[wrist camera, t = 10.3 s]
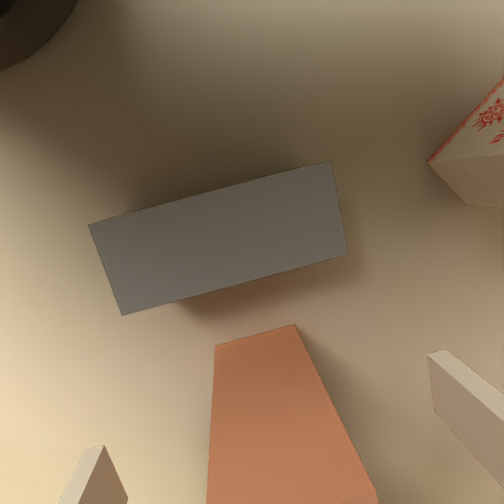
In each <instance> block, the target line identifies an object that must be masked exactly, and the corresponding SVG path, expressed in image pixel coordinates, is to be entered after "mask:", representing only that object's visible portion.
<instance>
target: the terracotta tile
mask: <svg viewBox="0 0 504 504" xmlns="http://www.w3.org/2000/svg"><path fill="white" fill-rule="evenodd" d="M206 504H379V503H378V498H377V493H376V490H375V488H374V486H373V484H372V482H371V480H370V478H369V476H368V474H367V472H366V470H365V468H364V466H363V464H362V462H361V460H360V458H359V455H358V453H357V451H356V449H355V447H354V445H353V443H352V441H351V439H350V437H349V435H348V433H347V431H346V429H345V427H344V425H343V423H342V421H341V419H340V417H339V415H338V413H337V411H336V409H335V407H334V405H333V403H332V401H331V399H330V397H329V395H328V393H327V391H326V388H325V386H324V384H323V382H322V380H321V378H320V376H319V374H318V372H317V370H316V368H315V366H314V364H313V362H312V360H311V358H310V356H309V354H308V352H307V350H306V348H305V346H304V344H303V342H302V340H301V338H300V336H299V334H298V332H297V330H296V328H295V326H294V324H293V325H290V326H286V327H282V328H279V329H275V330H272V331H268V332H264V333H261V334H257V335H253V336H250V337H246V338H243V339H239V340H235V341H232V342H228V343H225V344H221V345H217V346H215V361H214V379H213V396H212V414H211V431H210V448H209V466H208V483H207V501H206Z"/></svg>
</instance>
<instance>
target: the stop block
mask: <svg viewBox="0 0 504 504" xmlns="http://www.w3.org/2000/svg"><path fill="white" fill-rule="evenodd" d="M88 227H89V229H90V232H91V235H92V237H93V240H94V243H95V245H96V248H97V251H98V253H99V256H100V259H101V261H102V264H103V267H104V269H105V272H106V274H107V277H108V280H109V282H110V285H111V288H112V290H113V293H114V296H115V298H116V301H117V304H118V306H119V309H120V312H121V314H122V316H123V315H127V314H131V313H134V312H138V311H142V310H145V309H149V308H153V307H156V306H160V305H164V304H167V303H171V302H175V301H178V300H182V299H186V298H189V297H193V296H197V295H200V294H204V293H208V292H211V291H215V290H219V289H222V288H226V287H230V286H233V285H237V284H241V283H245V282H248V281H252V280H256V279H259V278H263V277H267V276H270V275H274V274H278V273H281V272H285V271H289V270H292V269H296V268H300V267H303V266H307V265H311V264H314V263H318V262H322V261H325V260H329V259H333V258H336V257H340V256H344V255H347V254H348V248H347V243H346V238H345V233H344V228H343V223H342V217H341V212H340V207H339V202H338V197H337V191H336V186H335V181H334V176H333V171H332V165H331V161H327V162H323V163H318V164H313V165H309V166H304V167H300V168H296V169H292V170H289V171H285V172H281V173H277V174H273V175H270V176H266V177H262V178H258V179H254V180H251V181H247V182H243V183H239V184H235V185H232V186H228V187H224V188H220V189H216V190H213V191H209V192H205V193H201V194H197V195H194V196H190V197H186V198H182V199H178V200H175V201H171V202H167V203H163V204H159V205H156V206H152V207H148V208H144V209H140V210H137V211H133V212H129V213H125V214H122V215H119V216H115V217H112V218H109V219H105V220H102V221H99V222H95V223H92V224H89V225H88Z"/></svg>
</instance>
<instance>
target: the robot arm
mask: <svg viewBox="0 0 504 504" xmlns="http://www.w3.org/2000/svg"><path fill="white" fill-rule="evenodd" d="M76 1H77V0H0V69H3V68H5V67H8V66H10V65H12V64H14V63H16V62H18V61H20V60H22V59H24V58H25V57H27V56H29V55H30V54H32V53H33V52H34V51H36V50H37V49H38V48H40V47H41V46H42V45H43V44H44V43H45V42H46V41H48V40H49V39H50V37H51V36H52V35H53V34H54V33H55V32H56V31H57V30H58V29H59V27H60V26H61V25H62V24H63V22H64V21H65V19H66V18H67V16H68V15H69V13H70V12H71V10H72V8H73V6H74V5H75V3H76ZM427 358H428V365H429V373H430V380H431V388H432V395H433V403H434V410H435V412H436V413H437V414H438V416H439V417H440V418H441V419H442V420H443V421H444V422H445V423H446V424H447V426H448V427H449V428H450V429H451V430H452V431H453V432H454V433H455V434H456V436H457V437H458V438H459V439H460V440H461V441H462V442H463V443H464V444H465V446H466V447H467V448H468V449H469V450H470V451H471V452H472V453H473V454H474V456H475V457H476V458H477V459H478V460H479V461H480V462H481V463H482V464H483V466H484V467H485V468H486V469H487V470H488V471H489V472H490V473H491V475H492V476H493V477H494V478H495V479H496V480H497V481H498V482H499V483H500V485H501V486H502V487H503V488H504V394H502V393H501V392H500V391H498V390H497V389H496V388H495V387H493V386H492V385H491V384H489V383H488V382H487V381H486V380H484V379H483V378H482V377H480V376H479V375H478V374H477V373H475V372H474V371H473V370H471V369H470V368H469V367H468V366H466V365H465V364H464V363H462V362H461V361H460V360H459V359H457V358H456V357H455V356H453V355H452V354H451V353H450V352H448V351H447V350H446V349H444V350H441V351H437V352H434V353H430V354H427ZM127 501H128V496H127V494H126V492H125V490H124V487H123V485H122V483H121V481H120V479H119V476H118V474H117V472H116V470H115V467H114V465H113V463H112V461H111V459H110V456H109V454H108V452H107V450H106V447H105V445H102V446H98V447H94V448H91V449H87V450H85V451H84V453H83V455H82V457H81V459H80V461H79V463H78V465H77V467H76V469H75V471H74V473H73V475H72V477H71V479H70V480H69V482H68V484H67V486H66V488H65V490H64V492H63V494H62V496H61V498H60V500H59V502H58V504H127Z"/></svg>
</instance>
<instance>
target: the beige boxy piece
mask: <svg viewBox="0 0 504 504" xmlns="http://www.w3.org/2000/svg"><path fill="white" fill-rule="evenodd" d="M427 163H428V164H429V165H430V166H431V167H432V169H433V170H434V171H435V172H436V173H437V174H438V175H439V176H440V177H441V178H442V179H443V180H444V181H445V182H446V183H447V184H448V186H449V187H450V188H451V189H452V190H453V191H454V192H455V193H456V194H457V195H458V196H459V197H460V198H461V199H462V200H463V201H464V202H465V204H466V205H476V206H487V207H499V208H504V78H503V79H502V80H501V81H500V83H499V84H498V85H497V86H496V87H495V88H494V89H493V90H492V91H491V92H490V93H489V95H488V96H487V97H486V98H485V99H484V100H483V101H482V102H481V103H480V104H479V106H478V107H477V108H476V109H475V110H474V111H473V112H472V113H471V114H470V115H469V117H468V118H467V119H466V120H465V121H464V122H463V123H462V124H461V125H460V126H459V127H458V129H457V130H456V131H455V132H454V133H453V134H452V135H451V136H450V137H449V138H448V140H447V141H446V142H445V143H444V144H443V145H442V146H441V147H440V148H439V149H438V150H437V152H436V153H435V154H434V155H433V156H432V157H431V158H430V159H429V160H428V161H427Z"/></svg>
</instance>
